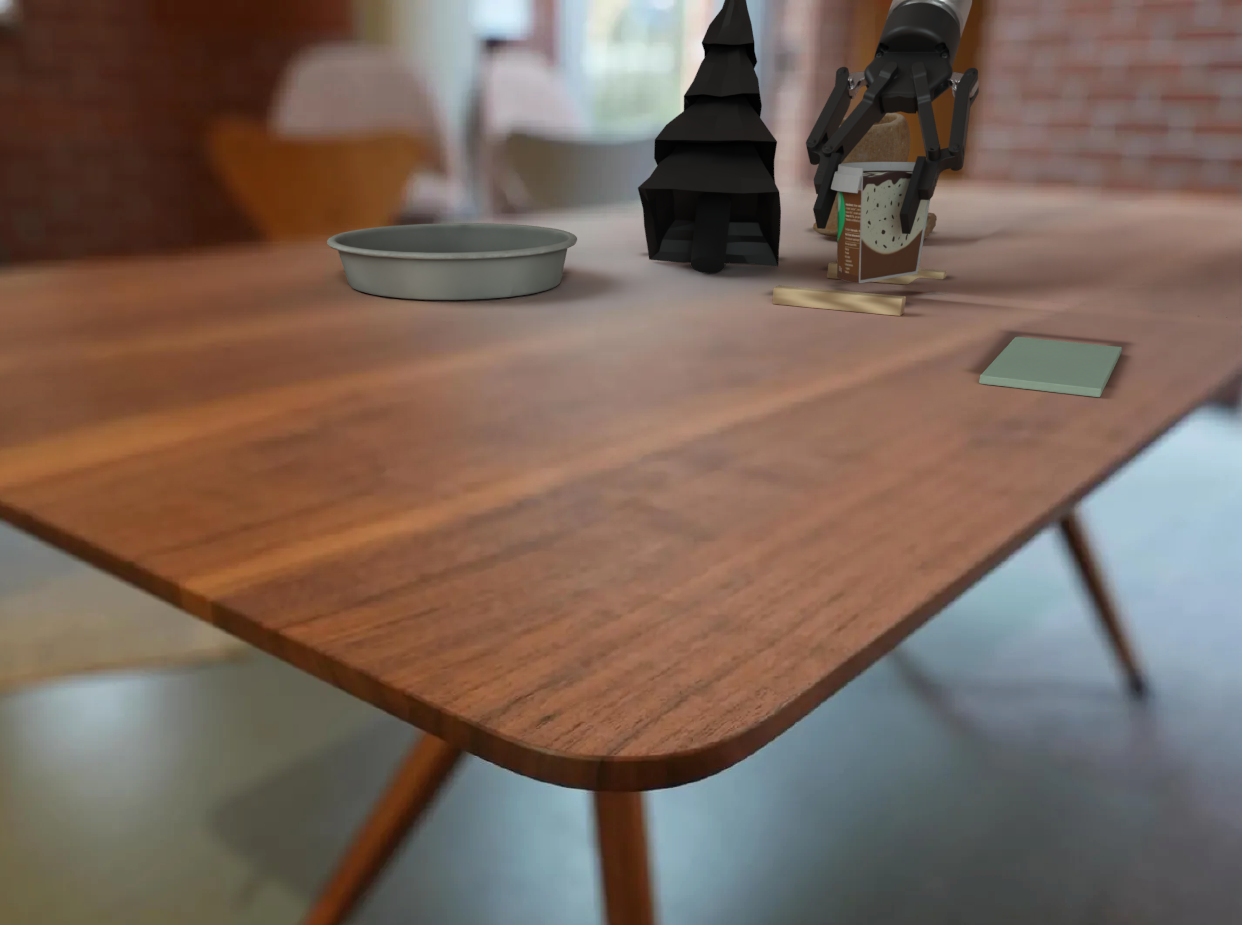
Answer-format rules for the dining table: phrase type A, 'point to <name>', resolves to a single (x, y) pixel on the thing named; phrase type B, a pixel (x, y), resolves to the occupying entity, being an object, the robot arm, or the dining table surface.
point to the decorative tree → (716, 162)
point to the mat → (1053, 366)
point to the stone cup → (879, 158)
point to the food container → (876, 222)
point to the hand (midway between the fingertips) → (861, 221)
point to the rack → (851, 295)
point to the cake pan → (453, 260)
